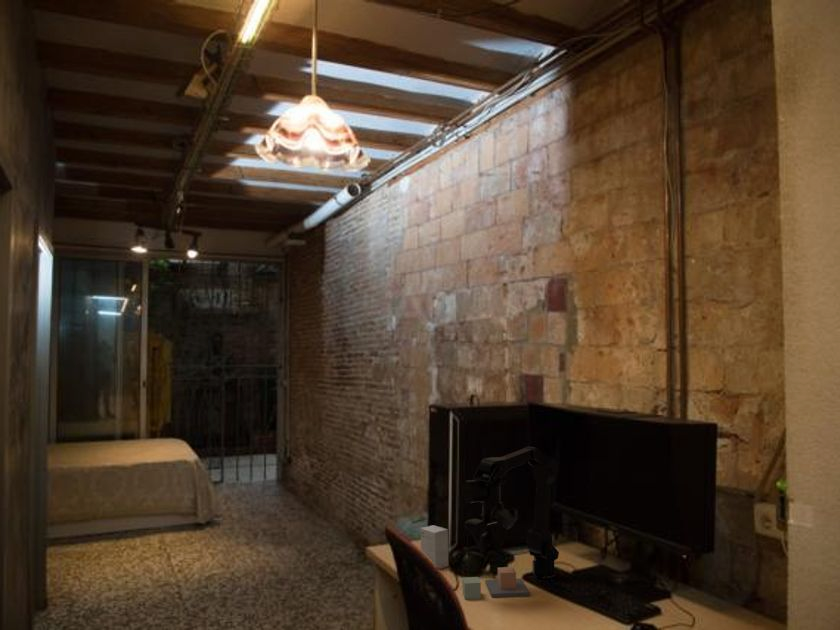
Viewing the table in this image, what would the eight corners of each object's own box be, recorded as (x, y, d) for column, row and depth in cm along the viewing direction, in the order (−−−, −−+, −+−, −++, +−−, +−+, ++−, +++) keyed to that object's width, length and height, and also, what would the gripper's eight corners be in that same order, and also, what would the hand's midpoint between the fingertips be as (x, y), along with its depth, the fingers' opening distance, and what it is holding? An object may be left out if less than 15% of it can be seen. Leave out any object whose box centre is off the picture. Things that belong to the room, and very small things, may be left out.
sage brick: (478, 593, 205) (478, 577, 205) (480, 599, 200) (480, 582, 200) (462, 593, 205) (462, 577, 205) (464, 599, 200) (464, 583, 200)
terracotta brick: (513, 582, 210) (512, 566, 210) (516, 588, 205) (516, 572, 205) (497, 583, 209) (497, 567, 210) (500, 589, 204) (500, 573, 205)
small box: (448, 566, 229) (448, 529, 230) (435, 570, 225) (434, 532, 226) (434, 560, 236) (433, 524, 236) (420, 564, 232) (420, 527, 232)
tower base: (521, 582, 213) (521, 578, 213) (529, 596, 201) (529, 592, 202) (485, 583, 213) (485, 579, 213) (491, 597, 201) (491, 593, 201)
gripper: (491, 508, 194) (491, 561, 193) (529, 499, 207) (530, 548, 206) (464, 502, 202) (464, 552, 201) (502, 493, 215) (503, 541, 214)
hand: (491, 549), depth 205 cm, fingers open, 9 cm apart
